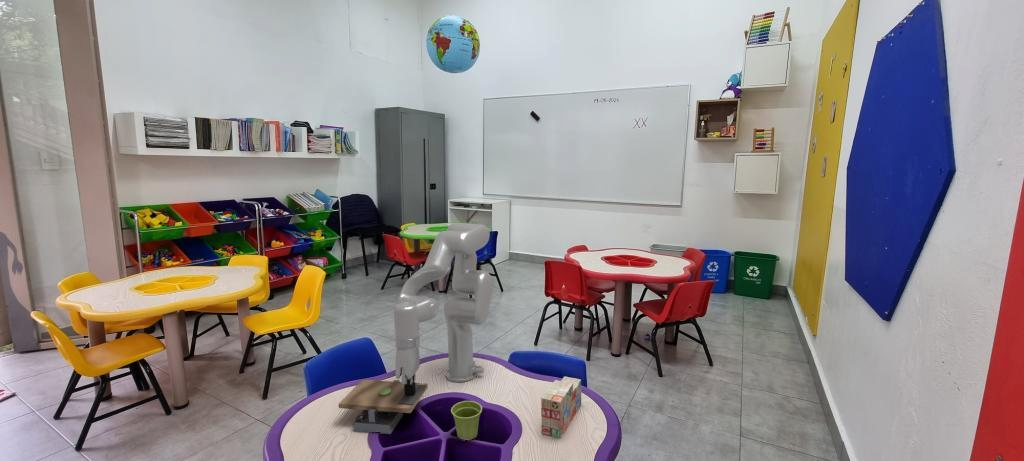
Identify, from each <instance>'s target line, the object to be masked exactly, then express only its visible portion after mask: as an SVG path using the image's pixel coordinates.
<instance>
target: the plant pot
mask: <svg viewBox="0 0 1024 461" xmlns="http://www.w3.org/2000/svg"><path fill="white" fill-rule="evenodd" d="M450 412H451V415H452V416H453V419H454V424H455V429H456V435H457V438H459V439H460V438H463V439H470V440H469V441H472V440H473V439H475V438H477V436H478V431H479V421H480V416H481V413H482V412H483V407H482V405H481V404H480V403H479V402H477V401H473V400H463V401H460V402H457V403H455V404H453V406H452V407H451V409H450Z"/></svg>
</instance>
